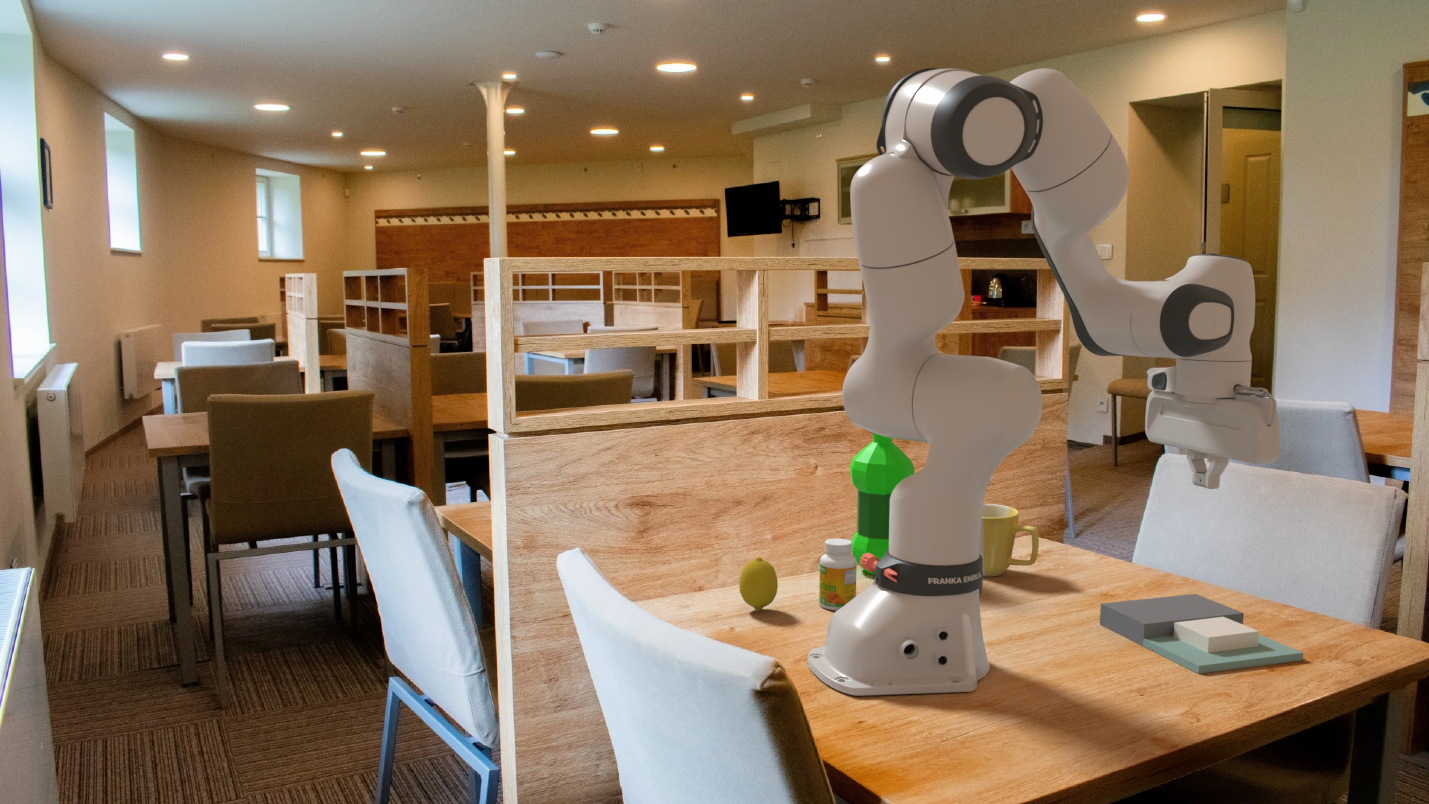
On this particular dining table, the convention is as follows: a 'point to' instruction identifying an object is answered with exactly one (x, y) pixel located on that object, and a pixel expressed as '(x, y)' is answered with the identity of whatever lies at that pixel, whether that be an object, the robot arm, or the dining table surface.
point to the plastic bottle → (876, 494)
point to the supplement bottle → (837, 574)
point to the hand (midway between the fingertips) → (1205, 486)
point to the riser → (1160, 615)
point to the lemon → (758, 583)
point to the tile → (1216, 634)
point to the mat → (1222, 654)
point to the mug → (1002, 539)
